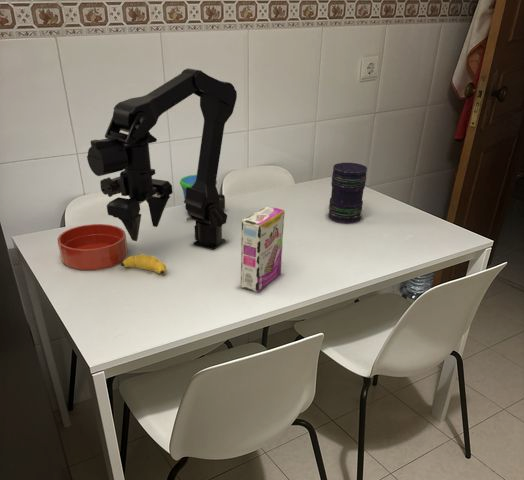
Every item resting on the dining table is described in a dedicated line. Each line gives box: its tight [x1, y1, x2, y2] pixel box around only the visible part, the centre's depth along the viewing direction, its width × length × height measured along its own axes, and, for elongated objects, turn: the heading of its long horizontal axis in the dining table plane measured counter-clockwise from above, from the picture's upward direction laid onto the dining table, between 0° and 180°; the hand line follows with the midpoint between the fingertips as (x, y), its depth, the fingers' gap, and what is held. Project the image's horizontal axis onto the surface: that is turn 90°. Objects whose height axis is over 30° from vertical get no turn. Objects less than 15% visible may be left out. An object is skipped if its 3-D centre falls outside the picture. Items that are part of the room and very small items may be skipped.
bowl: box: [57, 223, 129, 272], centre depth 131 cm, size 16×16×6 cm
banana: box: [120, 254, 167, 275], centre depth 127 cm, size 12×4×3 cm, turn 69°
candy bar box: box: [240, 205, 285, 293], centre depth 119 cm, size 11×5×16 cm, turn 150°
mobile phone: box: [186, 193, 226, 221], centre depth 157 cm, size 5×3×15 cm
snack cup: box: [179, 174, 218, 200], centre depth 156 cm, size 16×10×10 cm
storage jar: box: [328, 162, 368, 225], centre depth 155 cm, size 10×10×15 cm
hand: (145, 233), depth 124 cm, fingers open, 9 cm apart
